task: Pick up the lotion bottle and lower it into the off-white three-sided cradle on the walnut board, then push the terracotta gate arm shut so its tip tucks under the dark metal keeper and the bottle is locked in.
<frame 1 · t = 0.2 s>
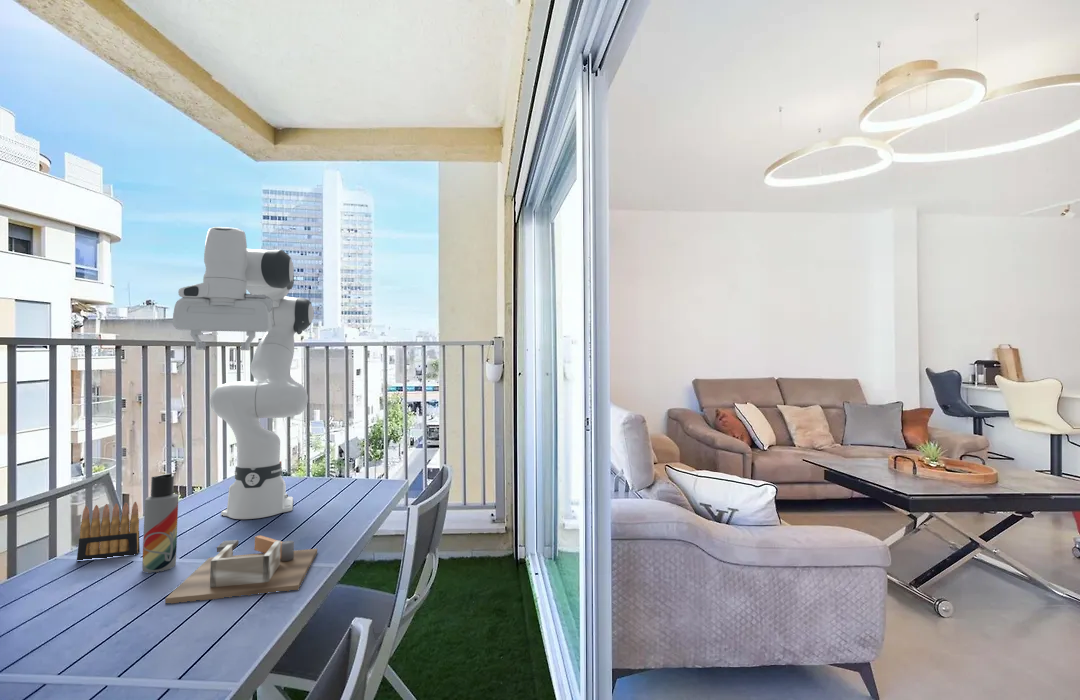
hand: (223, 350, 117), 47 cm above the table, tool pointing down, fingers open, 8 cm apart
cradle: (250, 575, 101), on the table
ammunition clip: (108, 558, 110), on the table
lotion bottle: (159, 569, 104), on the table
gate arm: (273, 546, 109), point 3 cm above the table, hinge at -45.0°
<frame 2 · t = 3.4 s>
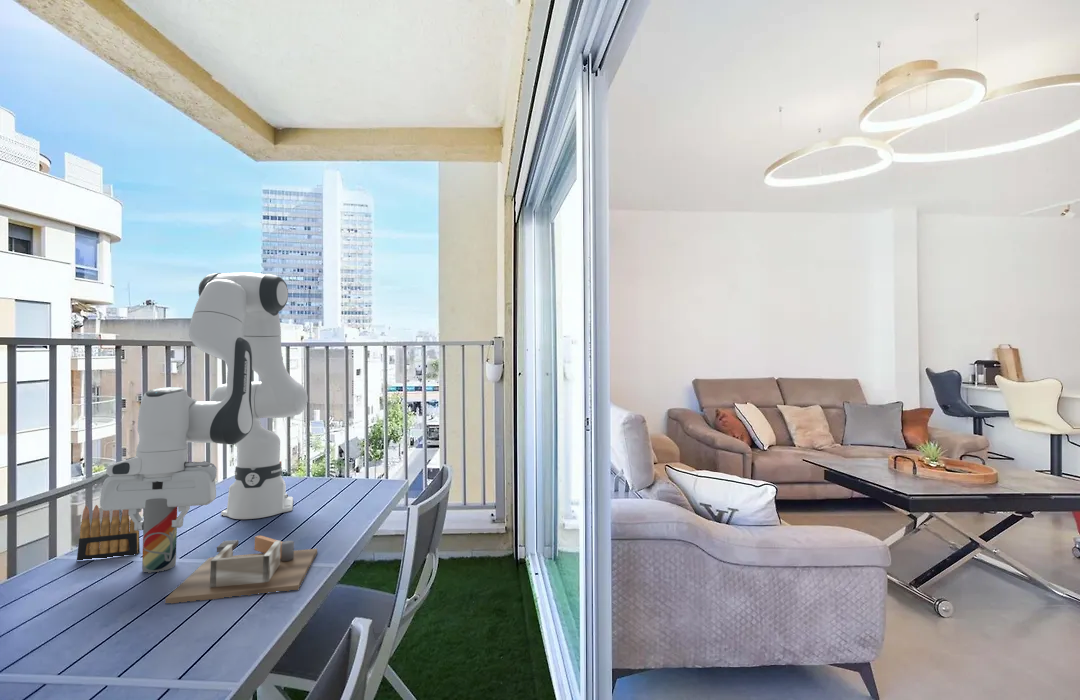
hand: (158, 528, 104), 9 cm above the table, tool pointing down, fingers open, 5 cm apart
lotion bottle: (159, 569, 104), on the table, touching arm, gripper
everything else where it was.
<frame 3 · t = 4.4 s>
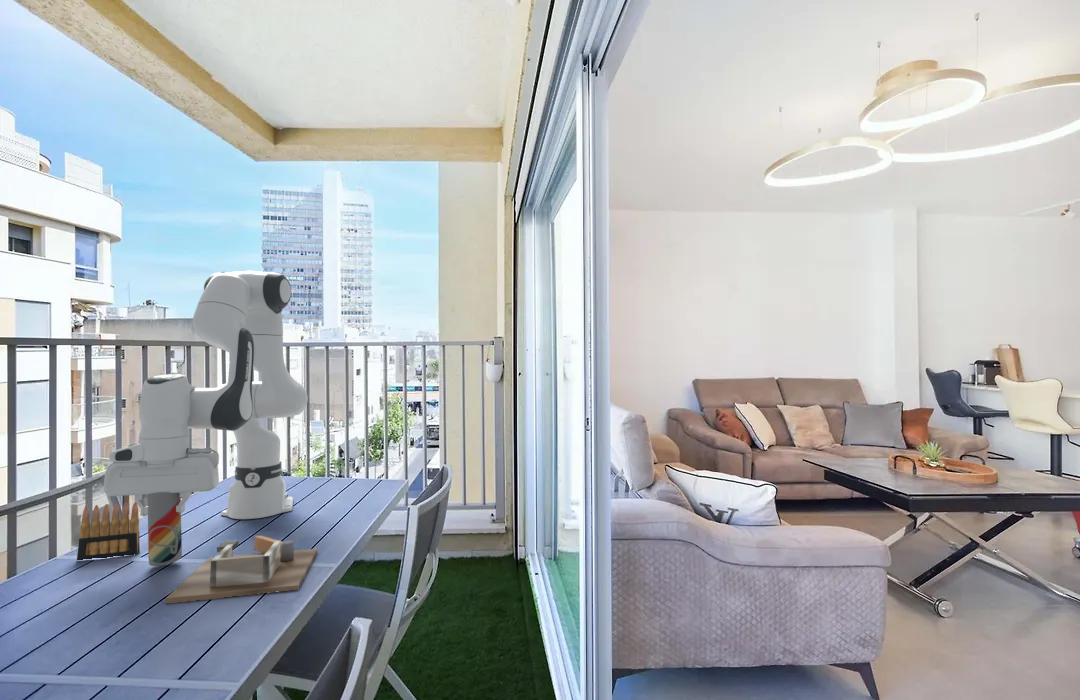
hand: (162, 513, 105), 11 cm above the table, tool pointing down, fingers open, 5 cm apart
lotion bottle: (165, 562, 105), point 1 cm above the table
everything else where it was.
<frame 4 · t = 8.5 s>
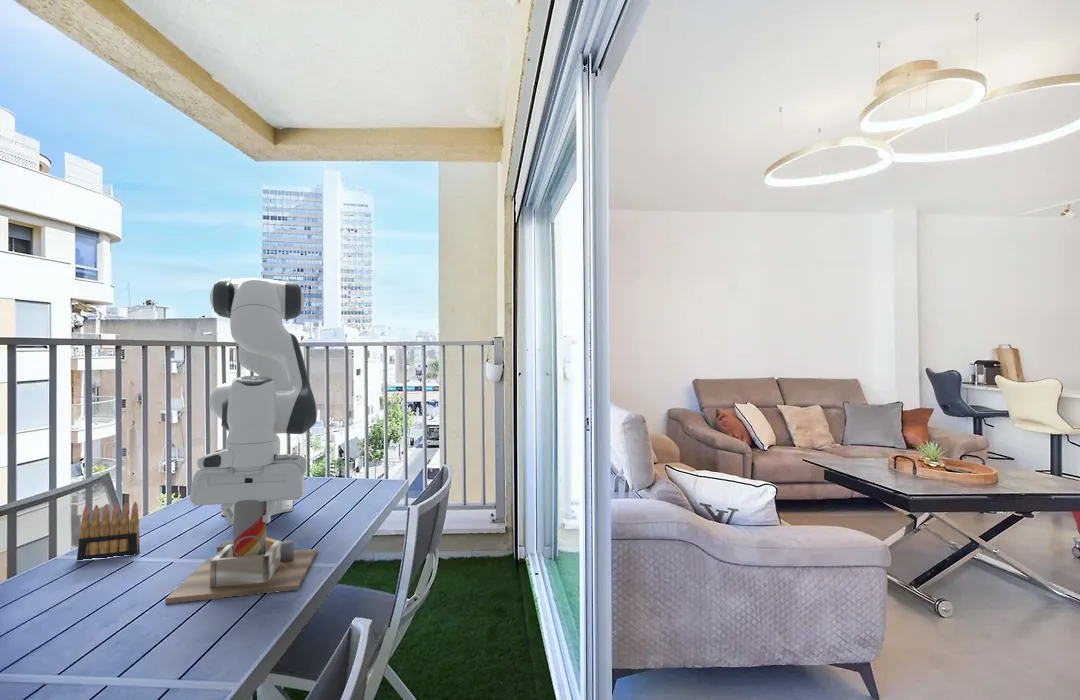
hand: (249, 523, 99), 11 cm above the table, tool pointing down, fingers open, 5 cm apart
lotion bottle: (248, 574, 99), point 1 cm above the table, touching cradle, gripper
everything else where it was.
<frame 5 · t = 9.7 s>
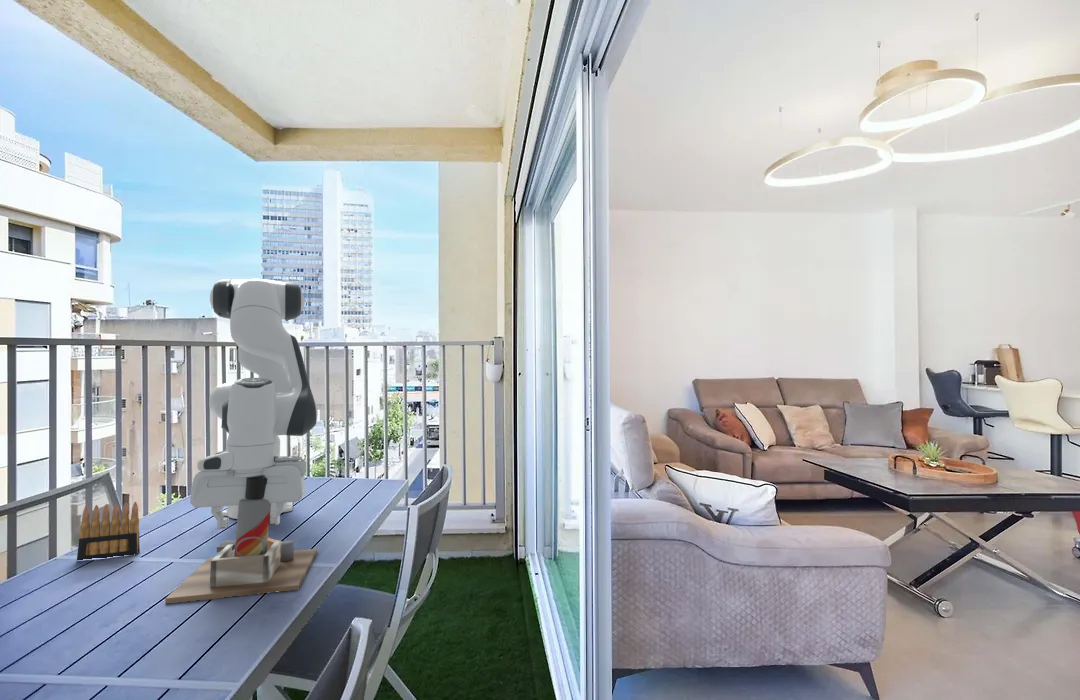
hand: (249, 526, 99), 11 cm above the table, tool pointing down, fingers open, 8 cm apart
lotion bottle: (248, 573, 99), point 1 cm above the table, touching cradle
everything else where it was.
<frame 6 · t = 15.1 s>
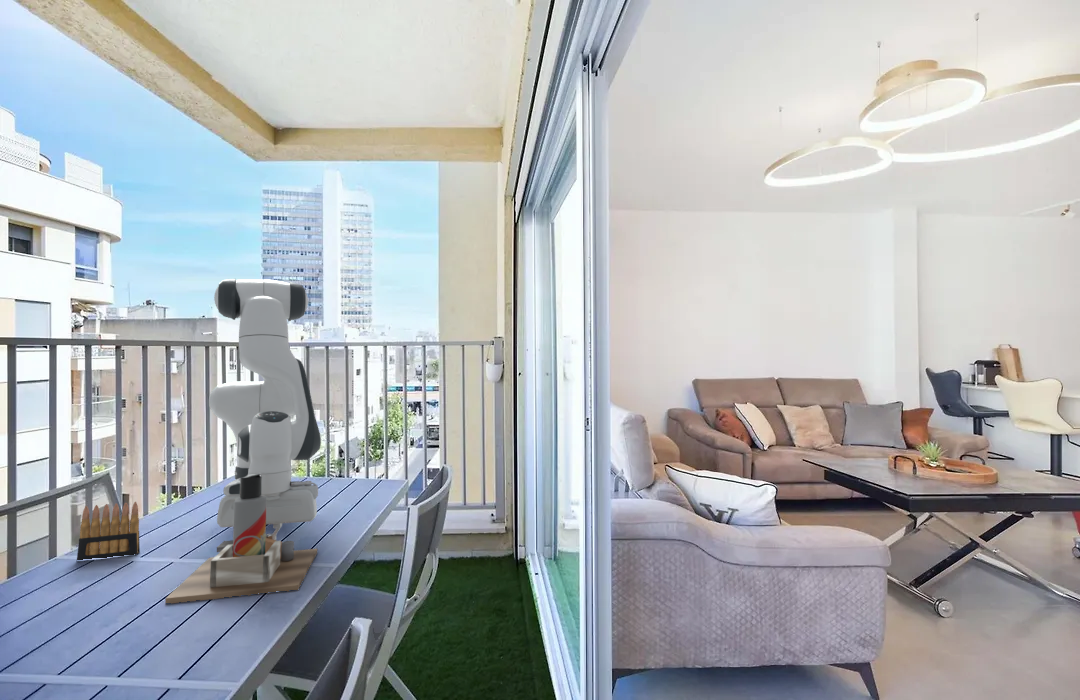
hand: (268, 542, 113), 2 cm above the table, tool pointing down, fingers closed
gate arm: (272, 546, 108), point 3 cm above the table, hinge at -42.3°, touching gripper
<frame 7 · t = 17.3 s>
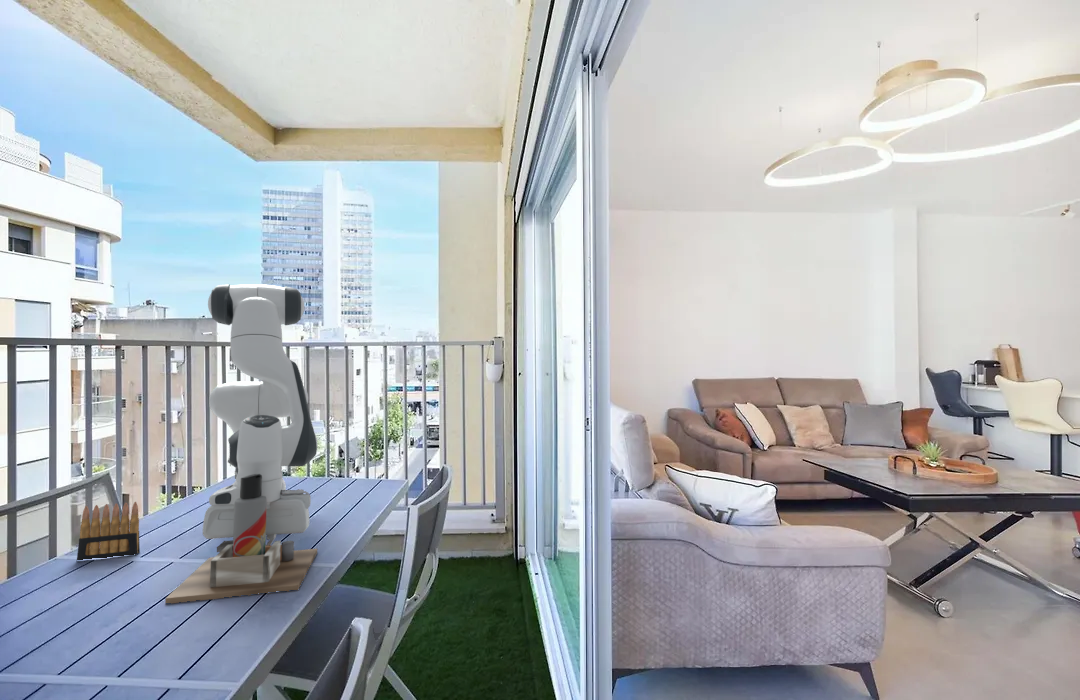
hand: (257, 555, 106), 2 cm above the table, tool pointing down, fingers closed on gate arm, 2 cm apart
lotion bottle: (248, 574, 99), point 1 cm above the table, touching arm, cradle
gate arm: (261, 552, 105), point 3 cm above the table, hinge at -1.7°, touching gripper
everything else where it was.
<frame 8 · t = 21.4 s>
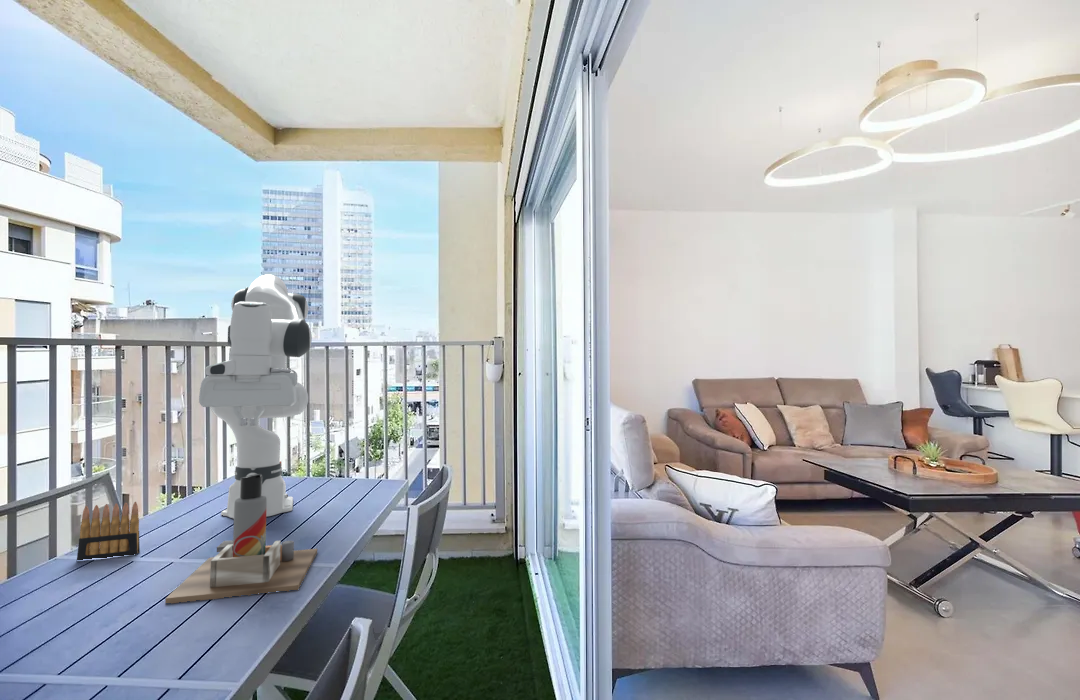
hand: (248, 425, 117), 29 cm above the table, tool pointing down, fingers closed
lotion bottle: (248, 574, 99), point 1 cm above the table, touching cradle
gate arm: (261, 552, 105), point 3 cm above the table, hinge at -1.1°
everything else where it was.
at the end: lotion bottle inside the target area on the cradle (0.2 cm from its centre), point 0.8 cm above the cradle's base; lotion bottle tilted 0°; gate arm at -1° (first picture: -45°) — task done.
